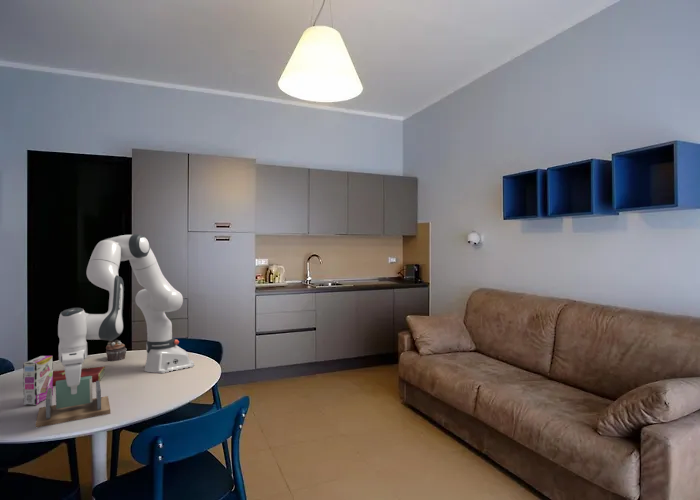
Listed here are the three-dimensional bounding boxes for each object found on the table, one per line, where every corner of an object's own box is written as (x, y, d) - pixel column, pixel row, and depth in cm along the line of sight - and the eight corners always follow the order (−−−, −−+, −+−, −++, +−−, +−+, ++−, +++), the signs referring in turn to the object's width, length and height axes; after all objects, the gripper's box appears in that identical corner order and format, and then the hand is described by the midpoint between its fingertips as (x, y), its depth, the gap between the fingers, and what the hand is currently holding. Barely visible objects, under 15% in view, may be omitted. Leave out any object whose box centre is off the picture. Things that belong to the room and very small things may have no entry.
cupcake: (114, 362, 225) (114, 343, 225) (101, 360, 229) (101, 341, 229) (130, 357, 234) (130, 339, 234) (118, 355, 238) (118, 337, 238)
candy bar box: (37, 405, 167) (35, 362, 167) (23, 406, 167) (21, 363, 166) (54, 395, 178) (53, 355, 178) (41, 395, 178) (40, 355, 177)
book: (56, 405, 159) (56, 380, 158) (92, 399, 164) (91, 375, 164) (56, 408, 156) (55, 383, 155) (92, 402, 161) (92, 378, 161)
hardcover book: (99, 382, 195) (99, 373, 195) (44, 388, 188) (44, 378, 188) (105, 374, 206) (105, 365, 206) (53, 379, 200) (53, 370, 199)
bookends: (99, 398, 170) (99, 380, 170) (101, 409, 159) (100, 390, 158) (48, 407, 161) (47, 388, 161) (46, 419, 150) (45, 399, 150)
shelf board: (108, 399, 173) (107, 396, 172) (110, 413, 159) (110, 409, 159) (39, 411, 161) (39, 407, 161) (35, 427, 147) (35, 423, 147)
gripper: (63, 348, 167) (64, 385, 167) (61, 361, 149) (62, 402, 150) (83, 346, 170) (84, 382, 170) (83, 358, 152) (84, 398, 153)
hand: (74, 391), depth 160 cm, fingers closed on book, 3 cm apart
